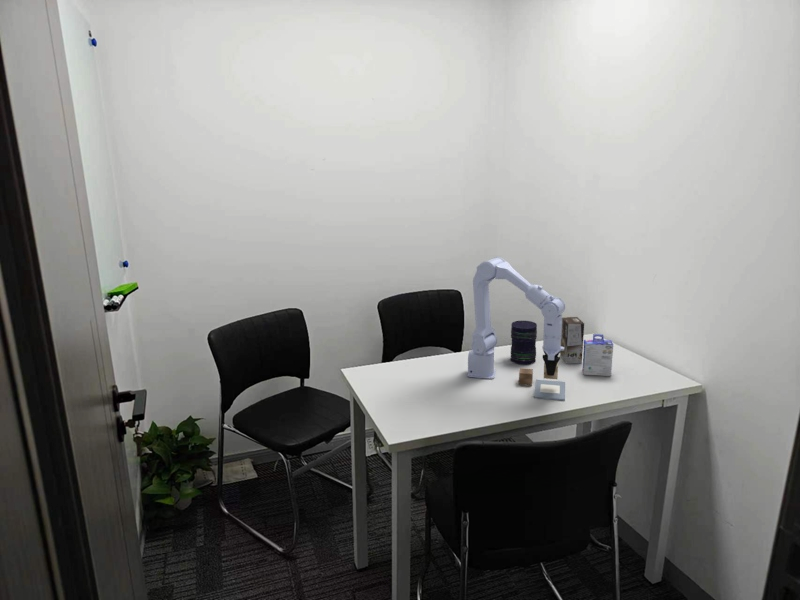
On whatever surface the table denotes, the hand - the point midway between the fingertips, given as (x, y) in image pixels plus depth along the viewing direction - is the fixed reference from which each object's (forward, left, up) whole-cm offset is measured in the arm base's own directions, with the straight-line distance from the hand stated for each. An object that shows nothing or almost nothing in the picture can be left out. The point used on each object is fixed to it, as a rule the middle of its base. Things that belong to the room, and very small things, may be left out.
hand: (550, 372), depth 182 cm
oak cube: (0, 0, -1) cm, 1 cm away
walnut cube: (-9, +5, -7) cm, 12 cm away
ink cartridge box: (+16, +19, -7) cm, 26 cm away
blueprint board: (0, 0, -7) cm, 7 cm away
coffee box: (+7, +31, -7) cm, 33 cm away
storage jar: (-11, +26, -7) cm, 29 cm away
